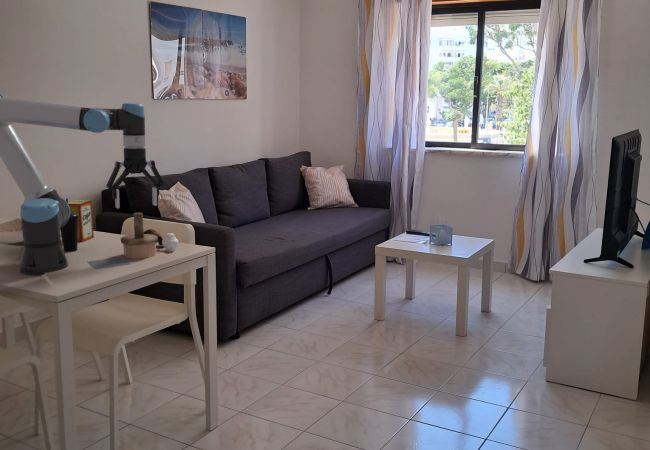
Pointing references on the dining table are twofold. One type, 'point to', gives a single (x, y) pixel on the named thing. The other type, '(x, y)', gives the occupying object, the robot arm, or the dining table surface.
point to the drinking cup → (70, 232)
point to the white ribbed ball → (170, 242)
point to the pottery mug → (156, 235)
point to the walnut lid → (139, 233)
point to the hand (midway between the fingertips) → (136, 206)
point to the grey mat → (108, 263)
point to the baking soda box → (83, 218)
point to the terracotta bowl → (139, 250)
